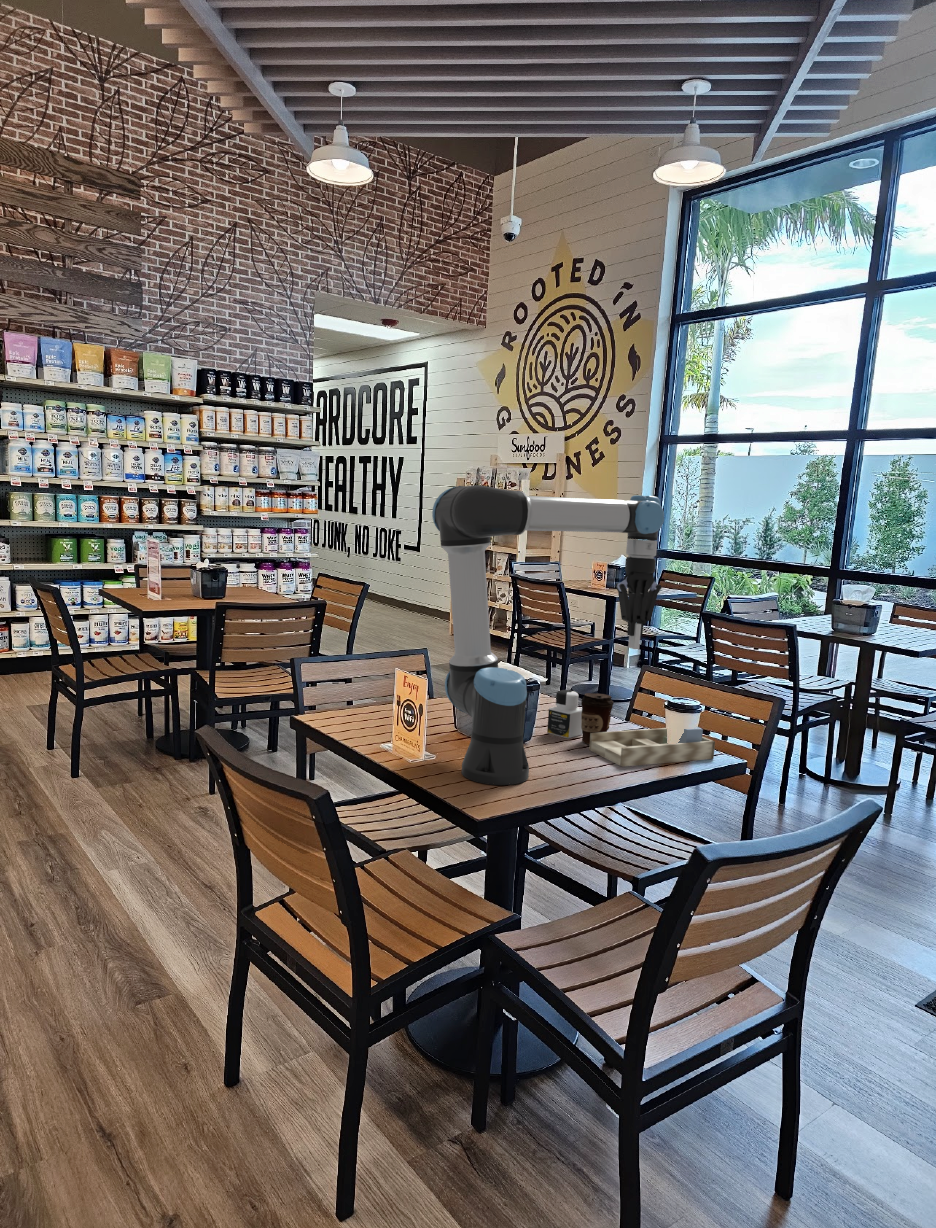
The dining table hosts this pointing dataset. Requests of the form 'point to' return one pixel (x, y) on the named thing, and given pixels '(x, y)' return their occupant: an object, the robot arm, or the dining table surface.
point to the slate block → (691, 735)
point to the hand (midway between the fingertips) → (633, 648)
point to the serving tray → (647, 747)
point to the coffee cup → (595, 714)
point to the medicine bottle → (565, 715)
